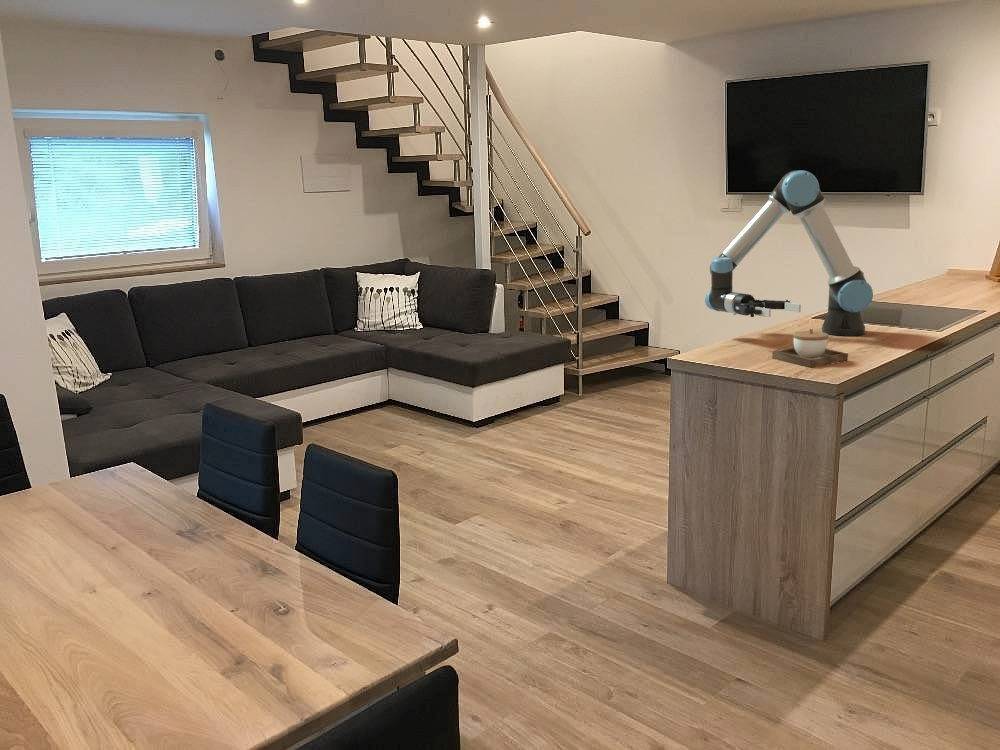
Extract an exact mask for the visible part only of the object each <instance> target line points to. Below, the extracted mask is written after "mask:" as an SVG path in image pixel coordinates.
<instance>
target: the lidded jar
mask: <svg viewBox="0 0 1000 750" xmlns="http://www.w3.org/2000/svg"><path fill="white" fill-rule="evenodd" d="M792 334H793V348H794V349H795V351H796V353H797V354H798V355H799V356H801V357H805V358H809V359H813V358H818V357H820V356H821V355H822V354H823V353H824V352H825V350H826V349H827V346H828V342H829V341H828V339H829V334H827V333H824V332H822V331H816V330H814V329H813V328H809V330H801V331H795V332H793V333H792Z"/></svg>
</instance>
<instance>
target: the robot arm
mask: <svg viewBox="0 0 1000 750" xmlns="http://www.w3.org/2000/svg"><path fill="white" fill-rule="evenodd" d="M825 200H826V199H825V197H824V194H823V192H822V191H821V189H820V183H819V181H818V179H817V177H816V176H815V175H814V174H813V173H811V172H810V171H807V170H803V169H802V170H800V169H799V170H797V169H796V170H791V171H789V172H787V173H786V174H784V176H782V177H781V179H780V180H779V182H778V184H777V185H776V186H775V187H774V189H773V190H772V191H771V192H770V194H768V200H767V201H766V202H765V204H763V206H762V207H761V208H760V209H759V210H758V212H756V214H755V215H754V216H753V217H752V218H750V220H749V222H747V224H746V225H745V226H744V227H743V229H742V230H740V232H739V233H738V234H737V235H736V236H735V238H733V240H732V241H731V242H730V243H729V244H728V245H727V246H726V248H725V249H724V250H723V251H722V252H721V254H719V255H718V256H717V257H715V258H714V257H713V258H712V260H711V264H710V266H709V273H710V275H711V277H710V279H711V286H710V287H711V288H710V290H708V292H706V296H705V297H704V303H705V305H706V306H707V308H708V309H710V310H713V311H716V312H725V313H728V314H729V313H730V314H733V316H736V315H741V316H745V317H747V316H750V318H754V317H755V316H758V317H764V318H771V317H772V316H771V315H772V314H771V313H772V312H771V311H772V310H784V311H787V312H795V313H801V309H802V307H801V303H795V302H791V301H790V300H788V299H785V300H773V299H772V300H769V299H762V300H760V299H755V298H754V295H752V294H749V293H748V294H747V293H742V292H734V291H733V277H734V276H733V274H734V273H733V271H734V270H735V269H736V268H737V266H738V265H740V263H741V262H742V261H743V260H744V258H746V257H747V255H748V254H749V253H750V252H751V251H752V249H754V248H755V246H756V245H757V244H758V243H759V242H760V241H761V240H762V239H763V238H764V237H765V236H766V234H768V232H769V231H770V230H771V229H772V228H774V227H773V226H775V224H777V222H778V221H779V220H780V219H782V217H783V215H785V214H786V213H790V212H791V214H792V216H794V217H797V218H799V219H800V221H801V224H802V226H803V228H804V229H805V231H806V233H807V235H808V237H809V239H810V241H811V243H812V245H813V247H814V249H815V251H816V253H817V254H818V257H819V259H820V261H821V263H822V264H823V266H824V268H825V270H826V272H827V275H828V277H829V278H828V280H827V284H828V288H829V289H828V303H827V313H826V315H825V317H824V321H823V323H822V324H821V332H824V333H827V334H828V335H832V336H840V335H842V337H844V336H845V337H846V336H847V337H848V336H849V337H853V336H862V335H864V334H866V325H865V323H864V322H865V321H864V318H863V313H862V312H863V311H864V310H866V309H867V308H868V307H869V306H870V305H871V303H872V301H873V298H874V292H873V291H874V290H873V288H872V286H871V285H870V283H868V281H867V280H866V277H865V275H864V271H862V270H861V268H860V267H859V266H855V265H854V264H853V262H852V260H851V259H850V256H849V254H848V253H847V251H846V248H845V247H844V245H843V243H842V241H841V239H840V237H839V235H838V233H837V230H836V229H835V227H834V225H833V223H832V221H831V218H830V217H829V215H828V213H827V211H826V209H825V207H824V202H825ZM843 335H844V336H843Z"/></svg>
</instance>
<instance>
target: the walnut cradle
mask: <svg viewBox="0 0 1000 750" xmlns="http://www.w3.org/2000/svg"><path fill="white" fill-rule="evenodd" d="M848 357H849V353H846V352H844V351H843V352H842V351H837V350H833V349H830V348H826V350H825V352H824V353H823V354H822V355H821V356H820V357H818V358H813V359H809V358H805V357H801V356H799V355H798V354H797V353H796V351H795V349H794V347H788V348H784V349H783V348H782V349H776V350H772V359H774V360H778V361H781V362H786V363H790V364H792V365H798V366H802V367H805V368H811V367H812V368H817V367H822V365H823V366H828V365H827V364H829V365H833V364H832V363H835V364H838V363H837V362H840V363H844V362H843V361H846V362H848V360H849V359H848ZM816 366H817V367H816Z"/></svg>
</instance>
